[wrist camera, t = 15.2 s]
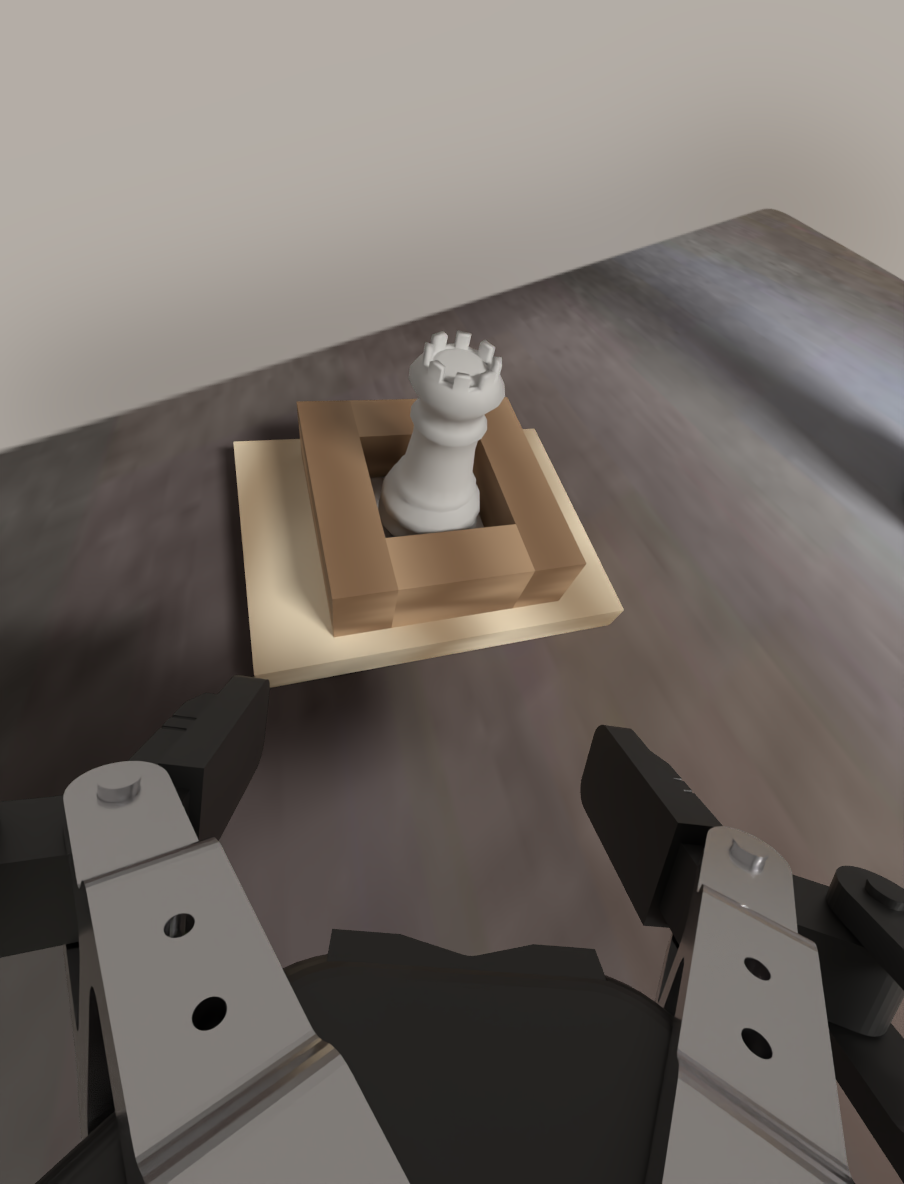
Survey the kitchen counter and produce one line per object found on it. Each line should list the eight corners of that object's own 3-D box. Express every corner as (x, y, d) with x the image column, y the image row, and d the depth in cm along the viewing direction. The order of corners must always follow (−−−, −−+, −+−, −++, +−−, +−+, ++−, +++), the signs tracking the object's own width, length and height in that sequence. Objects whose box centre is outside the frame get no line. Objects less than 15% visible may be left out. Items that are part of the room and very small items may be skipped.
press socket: (526, 448, 29) (553, 383, 25) (608, 624, 24) (659, 575, 20) (239, 464, 24) (220, 387, 21) (259, 689, 19) (239, 640, 15)
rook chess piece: (359, 496, 22) (367, 323, 15) (442, 469, 24) (482, 305, 17) (408, 572, 20) (440, 416, 14) (493, 537, 22) (559, 384, 15)
